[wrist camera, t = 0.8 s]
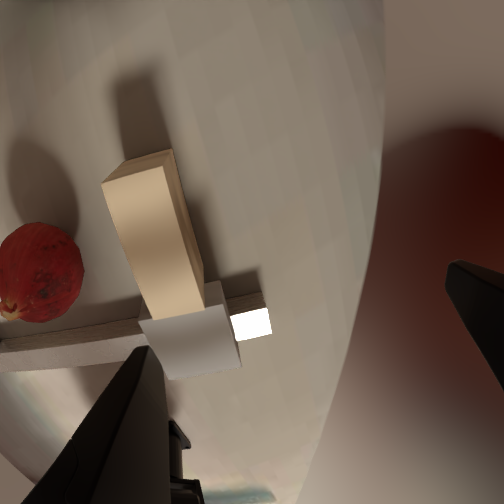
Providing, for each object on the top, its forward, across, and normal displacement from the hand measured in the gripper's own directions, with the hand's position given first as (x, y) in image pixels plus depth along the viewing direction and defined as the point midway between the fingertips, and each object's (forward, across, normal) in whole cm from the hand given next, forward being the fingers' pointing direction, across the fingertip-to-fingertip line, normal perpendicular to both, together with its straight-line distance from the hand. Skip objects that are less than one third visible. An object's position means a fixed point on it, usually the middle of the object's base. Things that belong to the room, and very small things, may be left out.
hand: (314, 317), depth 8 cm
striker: (+12, +6, +3) cm, 14 cm away
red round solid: (+13, +14, 0) cm, 19 cm away
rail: (+12, +16, +9) cm, 22 cm away
